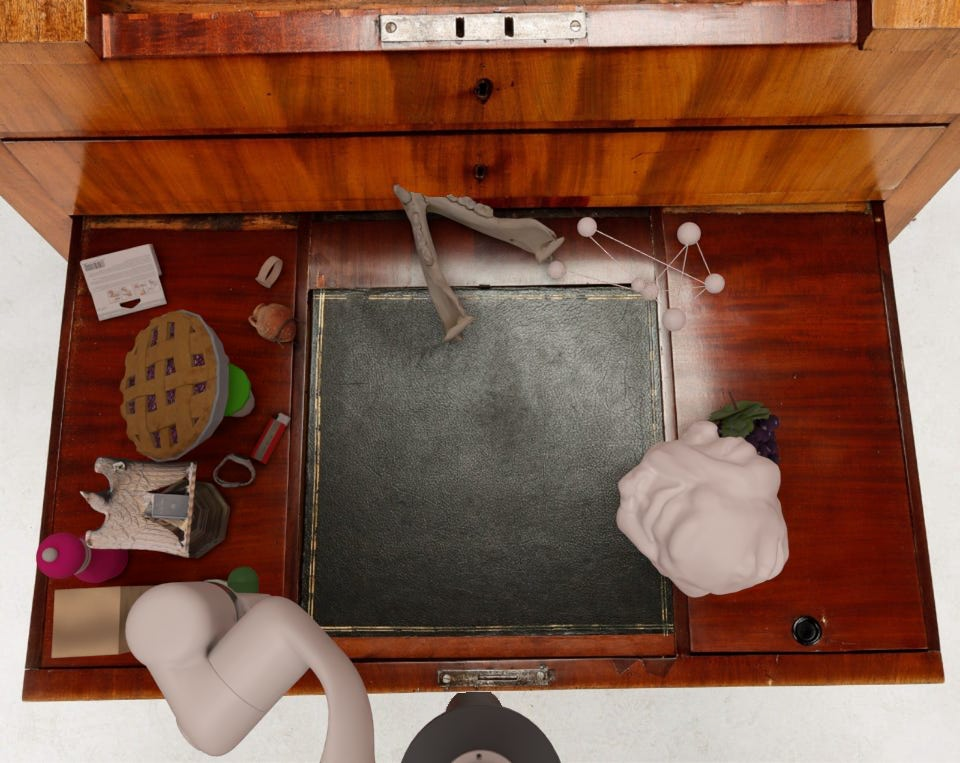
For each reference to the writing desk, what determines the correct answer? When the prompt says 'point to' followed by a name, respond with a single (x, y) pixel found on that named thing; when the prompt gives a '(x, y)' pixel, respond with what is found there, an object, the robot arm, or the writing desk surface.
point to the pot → (275, 323)
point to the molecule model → (649, 290)
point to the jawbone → (481, 219)
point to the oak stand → (92, 620)
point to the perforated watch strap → (264, 272)
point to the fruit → (749, 426)
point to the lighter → (270, 438)
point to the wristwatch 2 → (239, 460)
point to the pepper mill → (79, 559)
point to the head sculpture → (706, 512)
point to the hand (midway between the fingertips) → (245, 612)
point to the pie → (174, 386)
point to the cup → (238, 393)
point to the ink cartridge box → (124, 281)
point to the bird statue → (157, 508)
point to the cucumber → (243, 580)
